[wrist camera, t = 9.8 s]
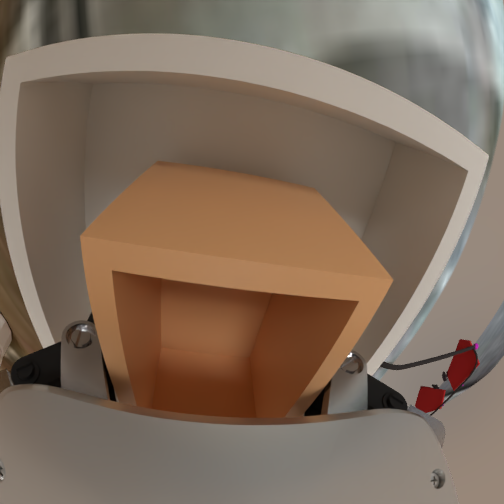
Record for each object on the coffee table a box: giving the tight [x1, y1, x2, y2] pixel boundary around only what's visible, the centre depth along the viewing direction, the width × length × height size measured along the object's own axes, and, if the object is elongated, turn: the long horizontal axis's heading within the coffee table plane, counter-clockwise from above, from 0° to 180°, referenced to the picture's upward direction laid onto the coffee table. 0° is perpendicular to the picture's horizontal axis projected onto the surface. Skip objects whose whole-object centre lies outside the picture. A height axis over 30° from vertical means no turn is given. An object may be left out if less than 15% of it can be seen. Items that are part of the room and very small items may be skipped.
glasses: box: [380, 339, 480, 416], centre depth 23 cm, size 14×16×5 cm
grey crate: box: [0, 33, 489, 402], centre depth 12 cm, size 18×16×6 cm
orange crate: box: [80, 161, 393, 418], centre depth 9 cm, size 10×6×6 cm, turn 168°
